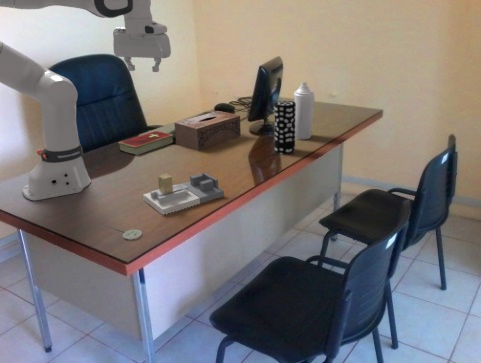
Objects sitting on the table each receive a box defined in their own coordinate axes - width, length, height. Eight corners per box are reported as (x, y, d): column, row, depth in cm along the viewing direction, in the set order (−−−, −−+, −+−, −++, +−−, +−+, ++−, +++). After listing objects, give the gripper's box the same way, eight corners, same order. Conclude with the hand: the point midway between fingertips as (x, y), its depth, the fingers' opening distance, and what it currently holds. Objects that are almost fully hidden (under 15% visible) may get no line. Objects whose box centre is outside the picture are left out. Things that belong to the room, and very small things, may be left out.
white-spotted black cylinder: (297, 149, 193) (298, 101, 185) (291, 155, 186) (291, 106, 178) (278, 147, 196) (278, 100, 188) (271, 153, 189) (271, 104, 182)
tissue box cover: (218, 131, 221) (217, 110, 217) (240, 137, 212) (240, 115, 208) (176, 144, 204) (174, 122, 200) (198, 151, 195) (196, 128, 191)
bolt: (160, 201, 145) (158, 180, 142) (155, 197, 147) (153, 176, 145) (188, 192, 150) (187, 172, 147) (183, 189, 153) (181, 169, 150)
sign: (110, 219, 138) (145, 232, 130) (110, 222, 139) (146, 235, 130) (96, 226, 134) (131, 240, 126) (96, 229, 135) (132, 243, 127)
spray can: (320, 137, 207) (322, 80, 198) (305, 143, 200) (307, 84, 190) (299, 132, 215) (300, 77, 205) (284, 137, 208) (285, 81, 198)
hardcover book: (119, 150, 199) (117, 141, 198) (156, 138, 214) (155, 129, 212) (136, 156, 192) (135, 146, 190) (174, 143, 207) (173, 134, 205)
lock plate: (163, 215, 141) (161, 200, 139) (143, 200, 151) (141, 185, 149) (223, 196, 152) (223, 182, 150) (201, 183, 163) (200, 169, 161)
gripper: (106, 28, 150) (112, 71, 156) (160, 28, 143) (164, 74, 148) (118, 26, 156) (123, 68, 161) (171, 26, 148) (174, 70, 153)
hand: (143, 71), depth 155 cm, fingers open, 8 cm apart
